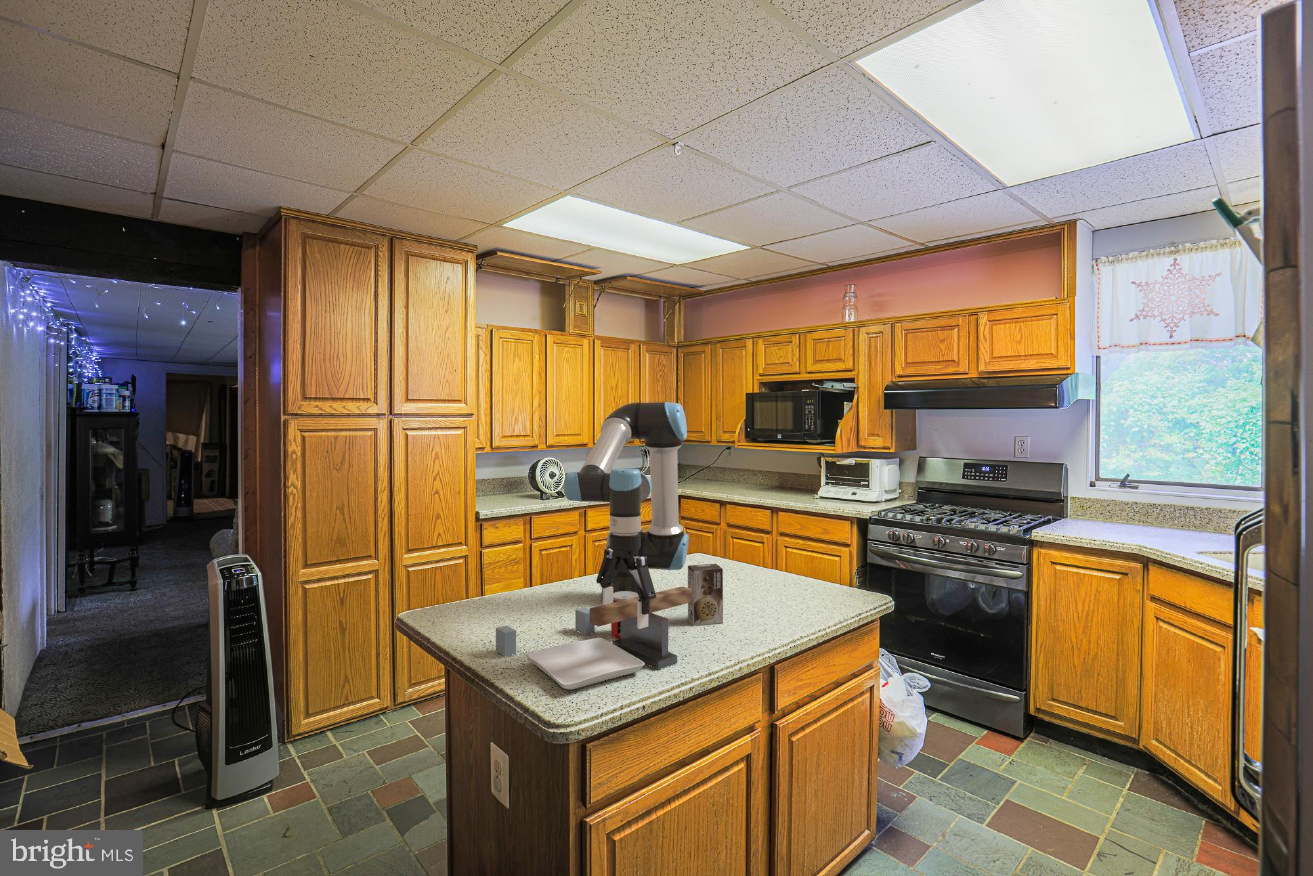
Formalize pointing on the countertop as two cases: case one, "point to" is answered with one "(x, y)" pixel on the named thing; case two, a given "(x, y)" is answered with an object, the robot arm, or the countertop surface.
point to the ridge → (647, 641)
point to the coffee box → (705, 594)
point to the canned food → (617, 597)
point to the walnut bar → (629, 606)
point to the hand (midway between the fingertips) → (624, 620)
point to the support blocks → (508, 634)
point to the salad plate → (584, 662)
